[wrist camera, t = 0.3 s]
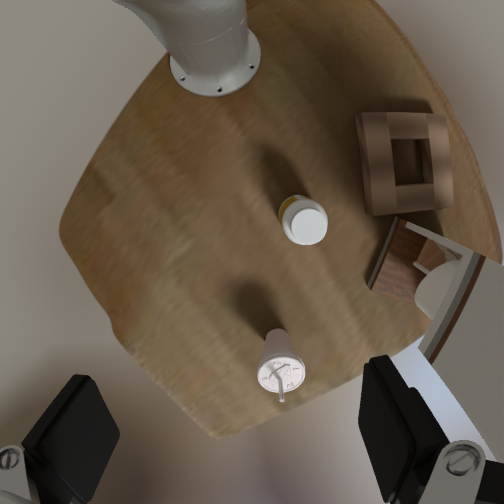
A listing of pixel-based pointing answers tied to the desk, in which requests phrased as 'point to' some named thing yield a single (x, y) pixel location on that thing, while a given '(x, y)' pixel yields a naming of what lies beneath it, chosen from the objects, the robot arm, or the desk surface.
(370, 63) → the desk surface
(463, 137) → the desk surface
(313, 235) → the supplement bottle
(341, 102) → the desk surface
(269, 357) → the smoothie
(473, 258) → the tall seamed white column
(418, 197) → the socket block
